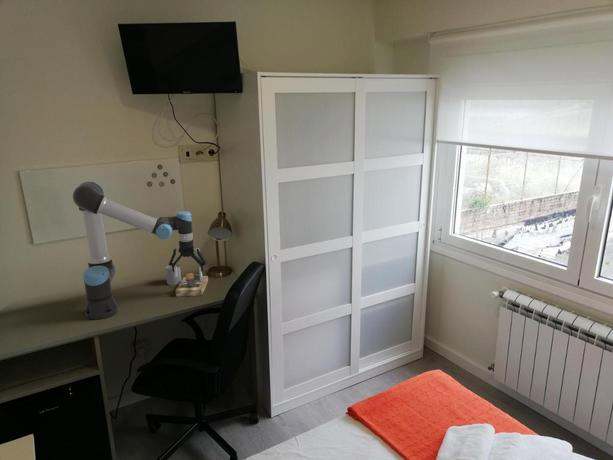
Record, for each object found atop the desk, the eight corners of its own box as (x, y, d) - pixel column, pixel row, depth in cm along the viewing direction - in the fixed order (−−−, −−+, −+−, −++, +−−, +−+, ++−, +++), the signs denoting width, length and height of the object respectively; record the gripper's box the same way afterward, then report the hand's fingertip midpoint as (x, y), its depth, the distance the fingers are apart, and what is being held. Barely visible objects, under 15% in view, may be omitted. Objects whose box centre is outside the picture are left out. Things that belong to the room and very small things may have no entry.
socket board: (176, 296, 249) (175, 290, 248) (184, 282, 268) (183, 276, 267) (201, 295, 249) (201, 289, 248) (208, 281, 268) (207, 276, 267)
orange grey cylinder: (186, 293, 252) (184, 276, 250) (188, 290, 257) (186, 273, 254) (194, 293, 252) (192, 276, 249) (196, 289, 257) (194, 273, 254)
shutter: (181, 283, 257) (180, 277, 256) (184, 278, 264) (183, 273, 263) (202, 282, 257) (202, 276, 256) (205, 277, 264) (204, 272, 263)
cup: (167, 280, 271) (165, 264, 269) (181, 278, 274) (179, 263, 271) (167, 285, 264) (165, 269, 261) (181, 283, 266) (180, 267, 263)
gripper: (160, 242, 242) (164, 279, 248) (207, 241, 243) (210, 279, 249) (164, 238, 250) (167, 274, 255) (210, 237, 250) (212, 274, 256)
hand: (188, 276), depth 252 cm, fingers open, 13 cm apart
